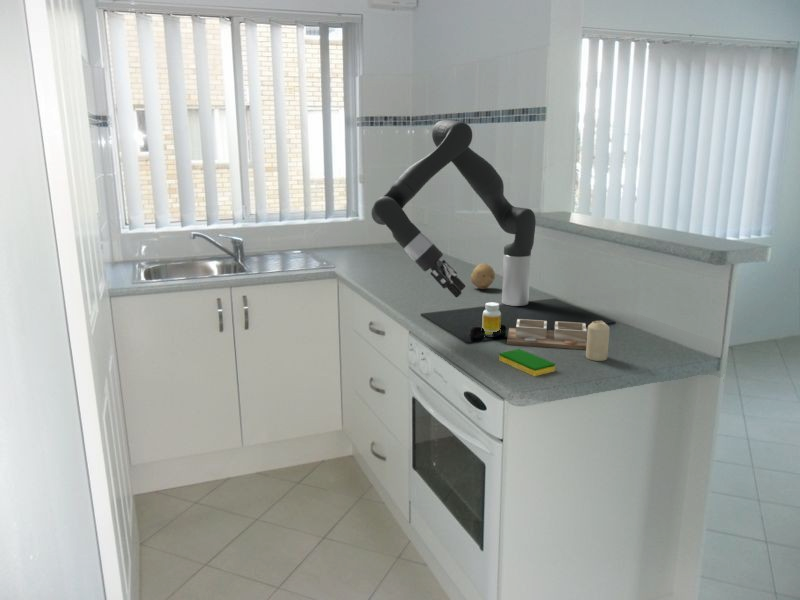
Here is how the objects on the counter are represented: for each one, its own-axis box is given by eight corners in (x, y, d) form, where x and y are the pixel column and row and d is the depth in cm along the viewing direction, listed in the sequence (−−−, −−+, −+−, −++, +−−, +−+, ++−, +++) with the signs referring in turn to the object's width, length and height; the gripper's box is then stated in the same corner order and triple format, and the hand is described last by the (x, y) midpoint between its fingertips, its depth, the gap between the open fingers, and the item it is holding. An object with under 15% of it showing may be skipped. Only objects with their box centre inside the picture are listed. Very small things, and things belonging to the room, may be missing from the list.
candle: (606, 362, 173) (609, 325, 171) (584, 359, 175) (587, 323, 173) (608, 356, 178) (611, 320, 176) (586, 353, 180) (589, 318, 178)
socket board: (509, 331, 200) (509, 318, 199) (591, 336, 195) (592, 323, 194) (506, 344, 188) (507, 330, 187) (594, 350, 183) (595, 336, 182)
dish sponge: (518, 357, 179) (519, 348, 178) (555, 372, 167) (556, 363, 167) (498, 361, 175) (498, 352, 174) (534, 377, 164) (534, 368, 163)
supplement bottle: (480, 332, 198) (481, 301, 196) (498, 332, 199) (499, 301, 196) (483, 338, 193) (484, 306, 191) (501, 338, 194) (503, 306, 191)
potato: (496, 292, 248) (497, 266, 246) (472, 292, 248) (473, 266, 246) (491, 286, 257) (492, 261, 255) (469, 287, 257) (469, 261, 254)
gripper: (428, 247, 186) (467, 289, 187) (436, 239, 200) (473, 278, 200) (409, 264, 189) (448, 306, 189) (418, 256, 202) (455, 294, 203)
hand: (461, 291), depth 195 cm, fingers open, 8 cm apart
